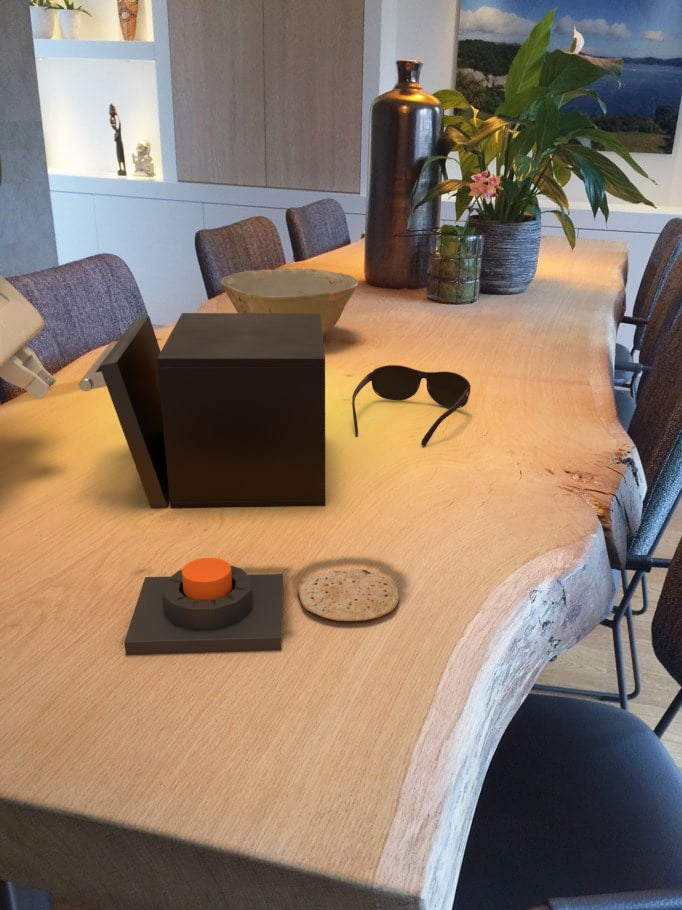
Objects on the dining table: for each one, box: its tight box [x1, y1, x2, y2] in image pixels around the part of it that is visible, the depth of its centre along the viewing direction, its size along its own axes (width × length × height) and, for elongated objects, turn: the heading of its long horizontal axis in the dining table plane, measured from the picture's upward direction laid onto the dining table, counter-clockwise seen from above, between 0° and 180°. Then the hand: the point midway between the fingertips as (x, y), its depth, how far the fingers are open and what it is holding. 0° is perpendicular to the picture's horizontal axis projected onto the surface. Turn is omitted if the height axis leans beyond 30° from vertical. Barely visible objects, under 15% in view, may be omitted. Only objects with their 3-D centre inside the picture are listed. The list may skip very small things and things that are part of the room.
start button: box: [182, 557, 232, 600], centre depth 62 cm, size 4×4×2 cm
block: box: [123, 565, 284, 656], centre depth 63 cm, size 11×9×3 cm
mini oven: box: [157, 312, 326, 510], centre depth 86 cm, size 15×18×15 cm
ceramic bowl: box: [220, 268, 359, 337], centre depth 137 cm, size 22×23×10 cm
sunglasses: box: [351, 364, 472, 447], centre depth 103 cm, size 14×16×5 cm
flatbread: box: [297, 568, 400, 622], centre depth 66 cm, size 8×8×1 cm
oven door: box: [78, 315, 170, 510], centre depth 85 cm, size 5×18×15 cm, turn 5°
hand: (48, 391), depth 84 cm, fingers closed
